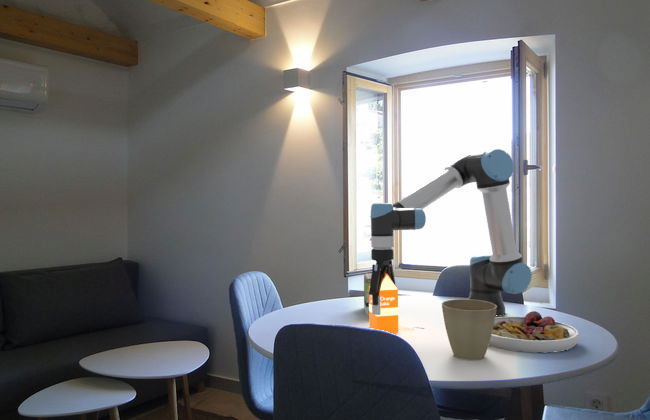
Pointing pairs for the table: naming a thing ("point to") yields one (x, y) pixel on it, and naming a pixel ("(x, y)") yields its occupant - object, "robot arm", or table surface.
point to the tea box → (366, 292)
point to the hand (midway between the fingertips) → (383, 310)
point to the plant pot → (469, 326)
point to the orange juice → (386, 307)
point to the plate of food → (532, 334)
